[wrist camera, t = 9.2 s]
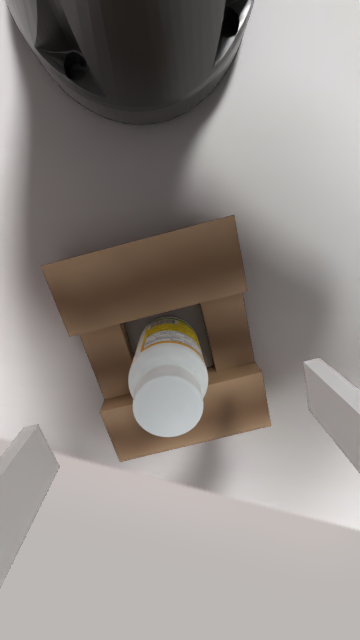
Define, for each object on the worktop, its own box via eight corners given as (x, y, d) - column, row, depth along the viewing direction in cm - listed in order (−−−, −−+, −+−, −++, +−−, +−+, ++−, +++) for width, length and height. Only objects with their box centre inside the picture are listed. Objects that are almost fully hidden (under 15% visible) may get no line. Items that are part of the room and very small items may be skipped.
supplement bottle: (163, 303, 22) (159, 344, 13) (209, 338, 23) (236, 399, 14) (127, 348, 23) (100, 416, 14) (173, 380, 24) (176, 462, 15)
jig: (58, 263, 21) (40, 265, 18) (224, 218, 21) (234, 214, 18) (125, 437, 26) (119, 461, 23) (259, 405, 26) (271, 425, 23)
